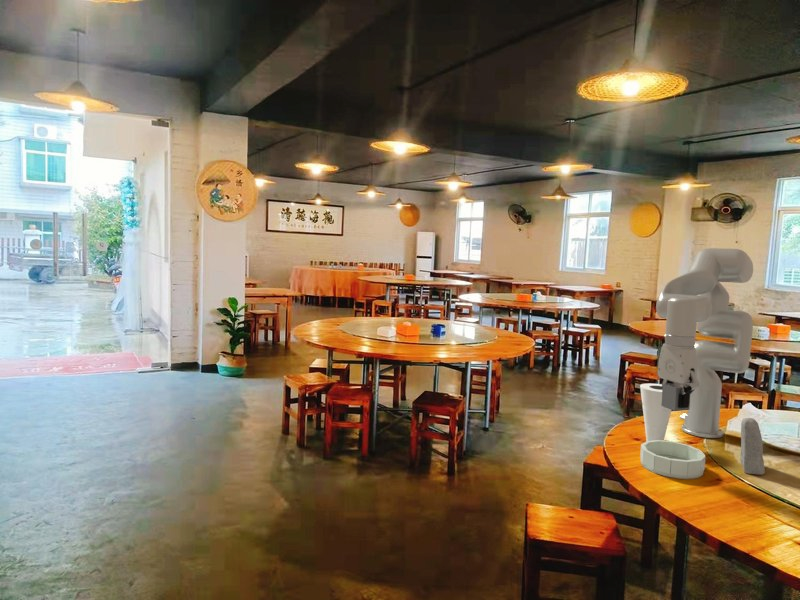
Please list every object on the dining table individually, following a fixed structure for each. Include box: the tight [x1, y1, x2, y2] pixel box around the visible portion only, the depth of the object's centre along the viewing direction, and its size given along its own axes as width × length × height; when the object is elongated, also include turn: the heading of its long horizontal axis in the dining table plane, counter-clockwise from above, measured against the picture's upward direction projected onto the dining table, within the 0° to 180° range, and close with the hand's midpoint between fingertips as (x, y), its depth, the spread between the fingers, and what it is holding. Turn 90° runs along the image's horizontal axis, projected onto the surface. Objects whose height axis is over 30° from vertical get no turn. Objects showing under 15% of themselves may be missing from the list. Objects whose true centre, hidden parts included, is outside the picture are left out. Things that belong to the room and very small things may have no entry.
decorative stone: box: [740, 417, 766, 476], centre depth 155 cm, size 11×6×15 cm, turn 156°
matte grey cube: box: [661, 382, 690, 412], centre depth 153 cm, size 5×5×6 cm
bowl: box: [639, 439, 706, 480], centre depth 155 cm, size 16×16×5 cm
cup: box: [639, 382, 673, 442], centre depth 174 cm, size 11×11×18 cm
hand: (675, 404), depth 153 cm, fingers closed on matte grey cube, 5 cm apart
